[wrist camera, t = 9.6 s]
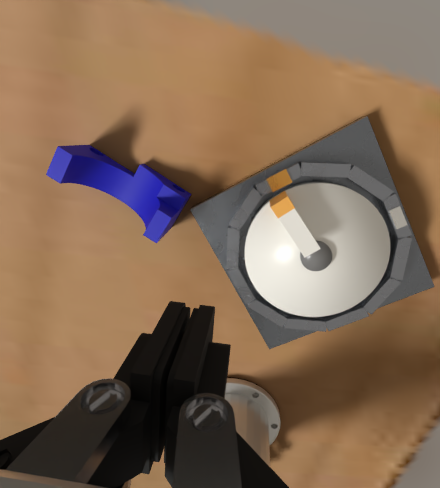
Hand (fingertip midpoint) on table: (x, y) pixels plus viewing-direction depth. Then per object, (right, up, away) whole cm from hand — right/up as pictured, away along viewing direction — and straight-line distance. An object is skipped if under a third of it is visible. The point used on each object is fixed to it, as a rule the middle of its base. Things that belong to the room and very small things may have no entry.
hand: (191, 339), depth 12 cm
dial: (+11, +3, +22) cm, 24 cm away
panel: (+11, +4, +23) cm, 26 cm away
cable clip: (-8, +10, +24) cm, 27 cm away
